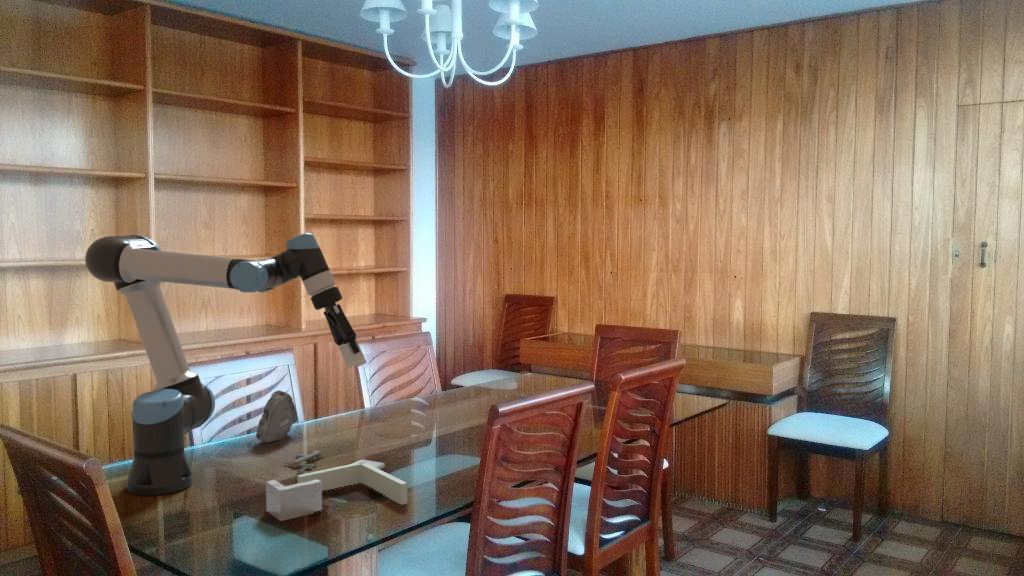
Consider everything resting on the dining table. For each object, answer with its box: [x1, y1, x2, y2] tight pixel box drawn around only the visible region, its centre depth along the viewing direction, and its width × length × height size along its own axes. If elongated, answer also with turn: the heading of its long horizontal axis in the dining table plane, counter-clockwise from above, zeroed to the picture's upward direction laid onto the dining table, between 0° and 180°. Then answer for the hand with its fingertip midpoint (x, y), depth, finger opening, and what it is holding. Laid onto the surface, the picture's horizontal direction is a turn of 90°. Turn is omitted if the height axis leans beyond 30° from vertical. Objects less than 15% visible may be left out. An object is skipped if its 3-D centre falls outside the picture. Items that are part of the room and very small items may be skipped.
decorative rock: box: [255, 389, 299, 443], centre depth 243 cm, size 16×7×15 cm, turn 158°
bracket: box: [265, 479, 323, 522], centre depth 185 cm, size 10×8×7 cm
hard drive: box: [351, 459, 386, 470], centre depth 215 cm, size 2×8×12 cm
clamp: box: [284, 449, 324, 474], centre depth 220 cm, size 15×2×10 cm
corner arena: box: [296, 462, 408, 506], centre depth 193 cm, size 18×21×5 cm
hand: (357, 365), depth 208 cm, fingers open, 13 cm apart
